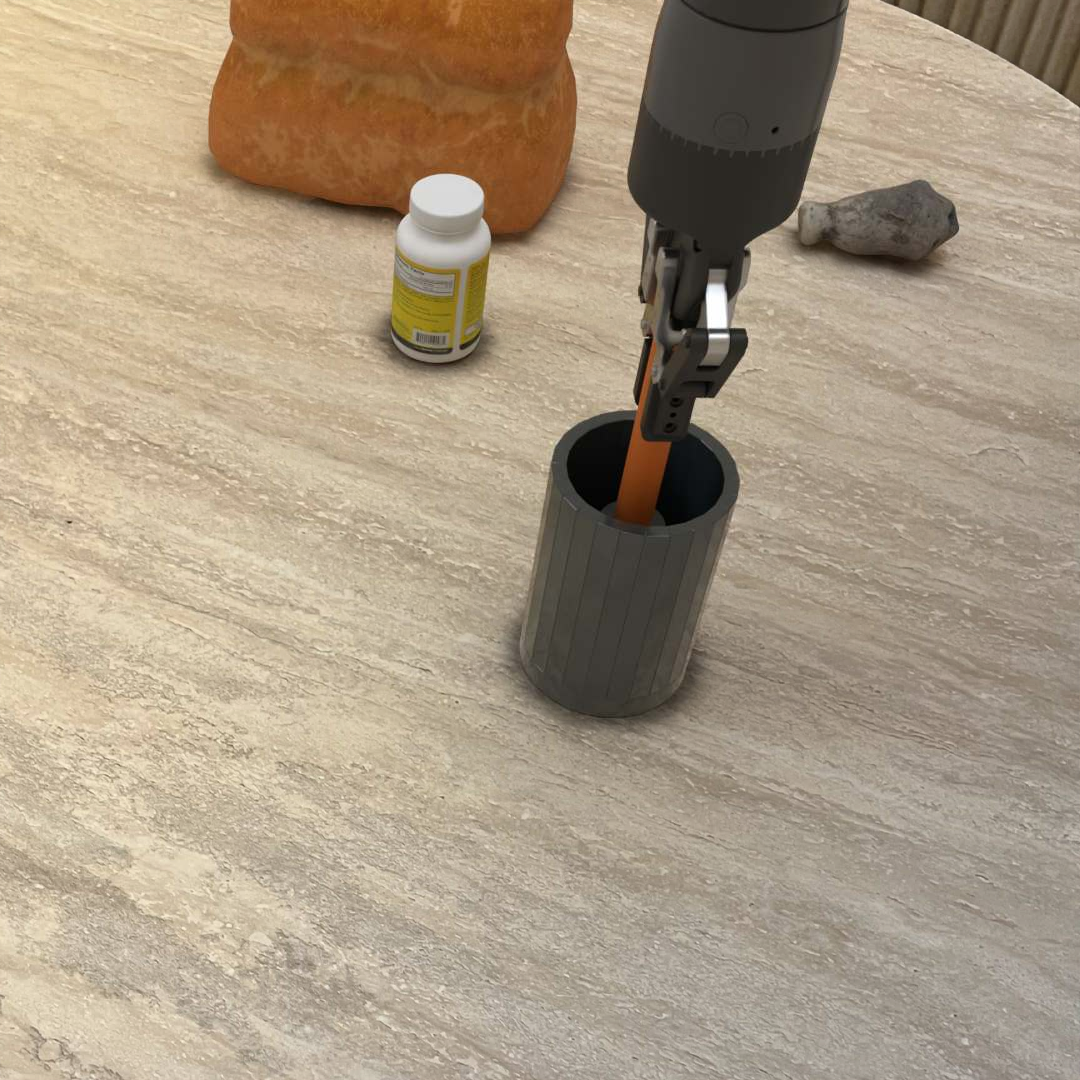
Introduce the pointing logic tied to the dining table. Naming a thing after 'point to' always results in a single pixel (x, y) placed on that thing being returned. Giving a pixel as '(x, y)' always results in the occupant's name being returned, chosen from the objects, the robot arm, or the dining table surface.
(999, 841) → the dining table surface
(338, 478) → the dining table surface
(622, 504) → the brush
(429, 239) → the pill bottle
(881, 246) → the stone
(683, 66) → the robot arm
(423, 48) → the bread
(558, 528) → the ribbed pencil cup
